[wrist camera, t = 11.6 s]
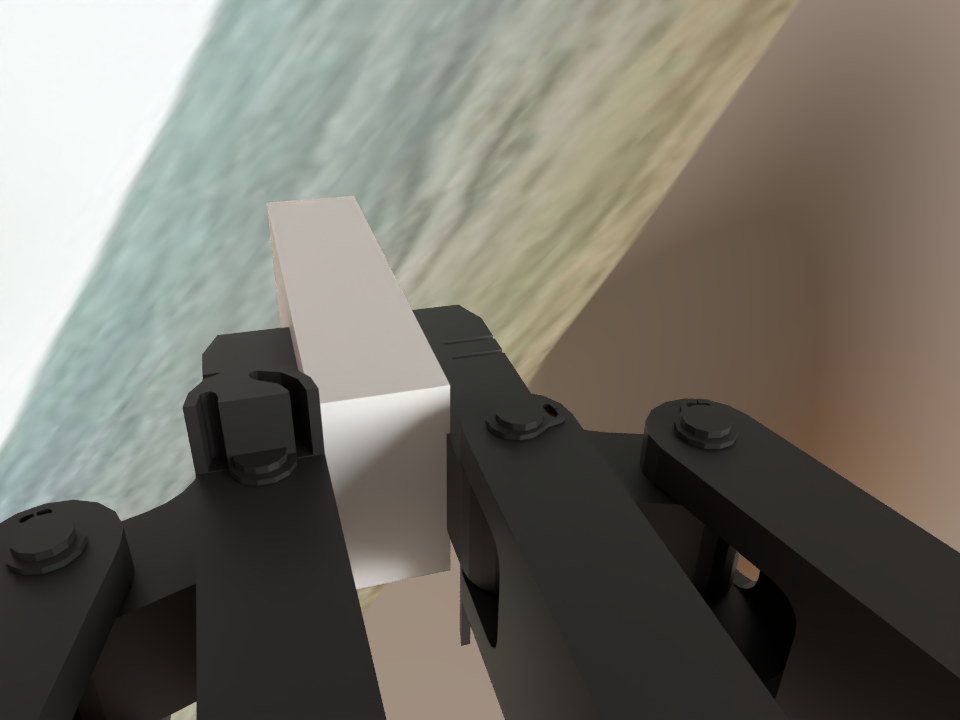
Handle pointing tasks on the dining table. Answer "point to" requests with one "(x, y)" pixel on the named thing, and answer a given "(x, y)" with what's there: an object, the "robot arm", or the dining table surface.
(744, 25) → the dining table surface
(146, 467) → the dining table surface
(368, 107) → the dining table surface
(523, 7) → the dining table surface
